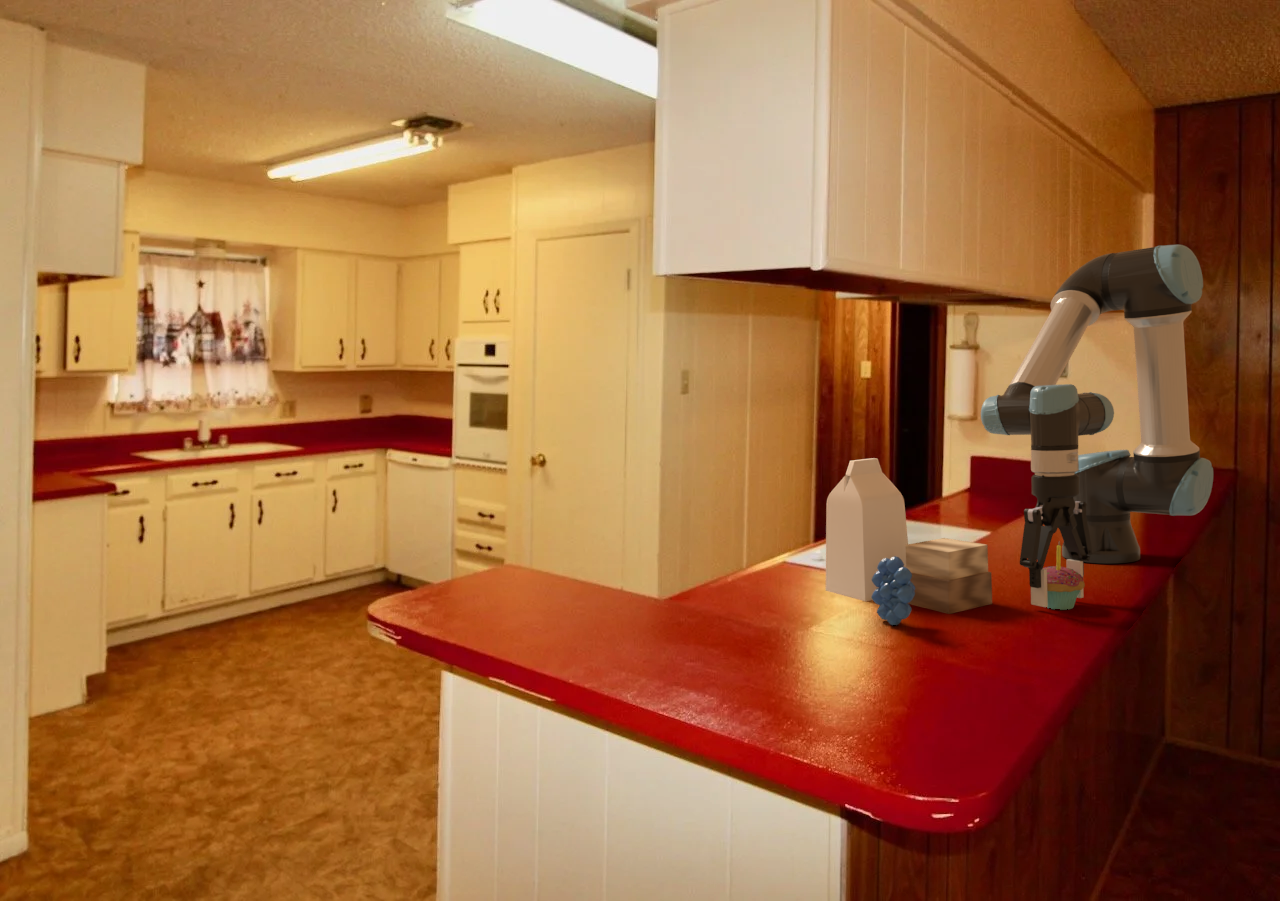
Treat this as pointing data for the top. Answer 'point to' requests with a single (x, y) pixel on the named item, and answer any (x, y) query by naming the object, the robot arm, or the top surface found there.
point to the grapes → (893, 590)
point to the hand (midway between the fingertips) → (1057, 600)
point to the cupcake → (1062, 585)
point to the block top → (947, 558)
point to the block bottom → (952, 592)
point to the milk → (862, 529)
